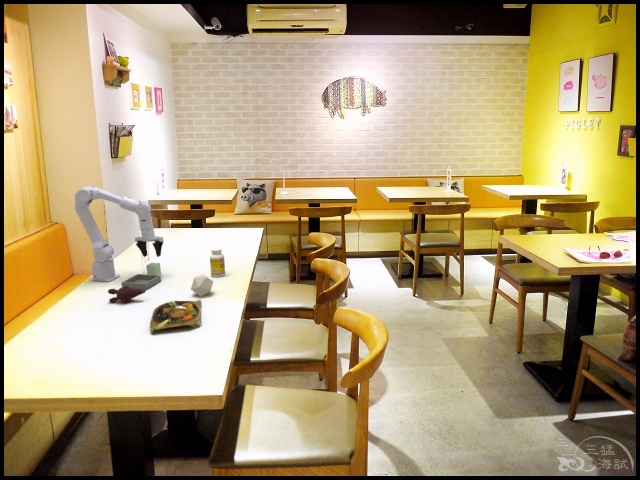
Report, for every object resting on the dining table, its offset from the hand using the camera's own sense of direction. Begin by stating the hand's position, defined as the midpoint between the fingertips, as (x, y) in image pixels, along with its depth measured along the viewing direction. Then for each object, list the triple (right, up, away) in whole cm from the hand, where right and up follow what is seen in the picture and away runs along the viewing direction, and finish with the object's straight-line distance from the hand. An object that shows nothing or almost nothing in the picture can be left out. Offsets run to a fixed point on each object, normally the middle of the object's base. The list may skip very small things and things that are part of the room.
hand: (152, 256), depth 232 cm
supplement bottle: (+31, -9, +2) cm, 32 cm away
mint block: (0, -10, +3) cm, 10 cm away
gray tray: (-1, -13, -10) cm, 16 cm away
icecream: (0, -18, -29) cm, 34 cm away
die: (+29, -16, -23) cm, 40 cm away
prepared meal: (+25, -22, -46) cm, 57 cm away
